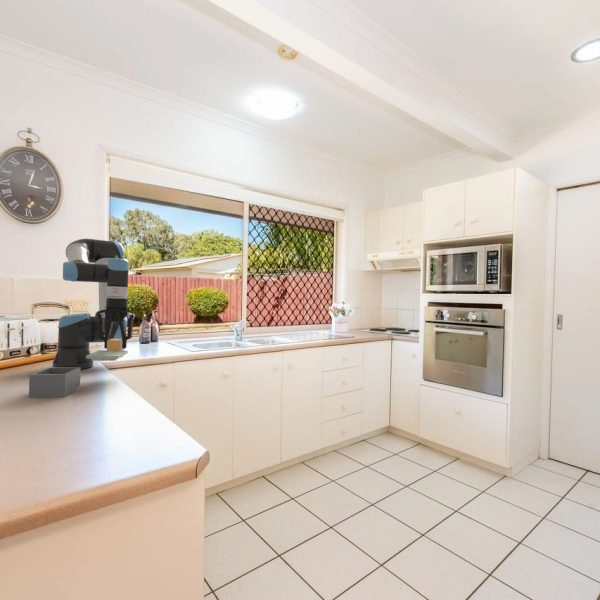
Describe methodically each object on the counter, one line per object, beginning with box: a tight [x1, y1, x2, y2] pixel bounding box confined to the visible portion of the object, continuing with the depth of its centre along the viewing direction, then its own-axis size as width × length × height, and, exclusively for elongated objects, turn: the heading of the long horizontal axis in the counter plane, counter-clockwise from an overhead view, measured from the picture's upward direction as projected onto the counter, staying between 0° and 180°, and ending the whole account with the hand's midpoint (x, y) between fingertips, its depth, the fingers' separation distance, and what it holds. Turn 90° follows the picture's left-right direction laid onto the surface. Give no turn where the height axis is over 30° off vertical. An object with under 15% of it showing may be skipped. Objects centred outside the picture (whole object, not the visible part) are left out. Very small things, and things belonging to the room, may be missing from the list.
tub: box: [28, 366, 82, 398], centre depth 120 cm, size 12×10×7 cm
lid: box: [86, 339, 129, 362], centre depth 139 cm, size 18×11×6 cm, turn 11°
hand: (115, 356), depth 145 cm, fingers closed on lid, 4 cm apart
